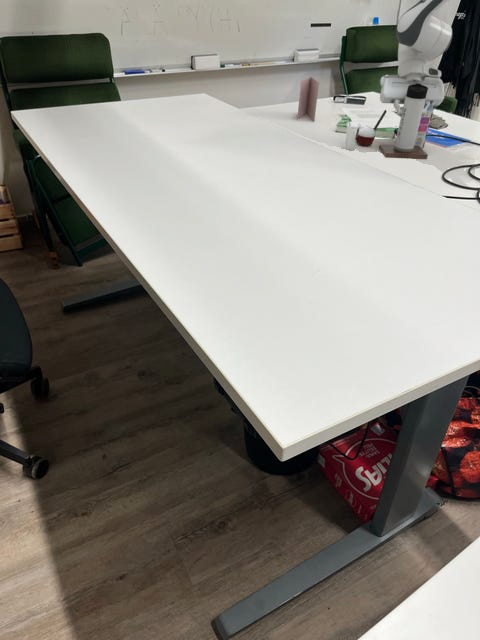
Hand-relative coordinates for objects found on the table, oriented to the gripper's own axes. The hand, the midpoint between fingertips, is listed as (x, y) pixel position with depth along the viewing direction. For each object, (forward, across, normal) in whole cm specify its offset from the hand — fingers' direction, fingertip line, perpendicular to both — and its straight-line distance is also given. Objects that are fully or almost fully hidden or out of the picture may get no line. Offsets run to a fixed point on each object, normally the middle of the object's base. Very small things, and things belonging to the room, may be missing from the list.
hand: (411, 114), depth 156 cm
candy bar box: (+1, +6, +18) cm, 18 cm away
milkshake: (+8, -18, +11) cm, 22 cm away
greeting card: (-19, -29, +37) cm, 51 cm away
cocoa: (+3, -11, +15) cm, 19 cm away
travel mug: (+8, 0, +8) cm, 11 cm away
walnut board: (+9, 0, +10) cm, 13 cm away
